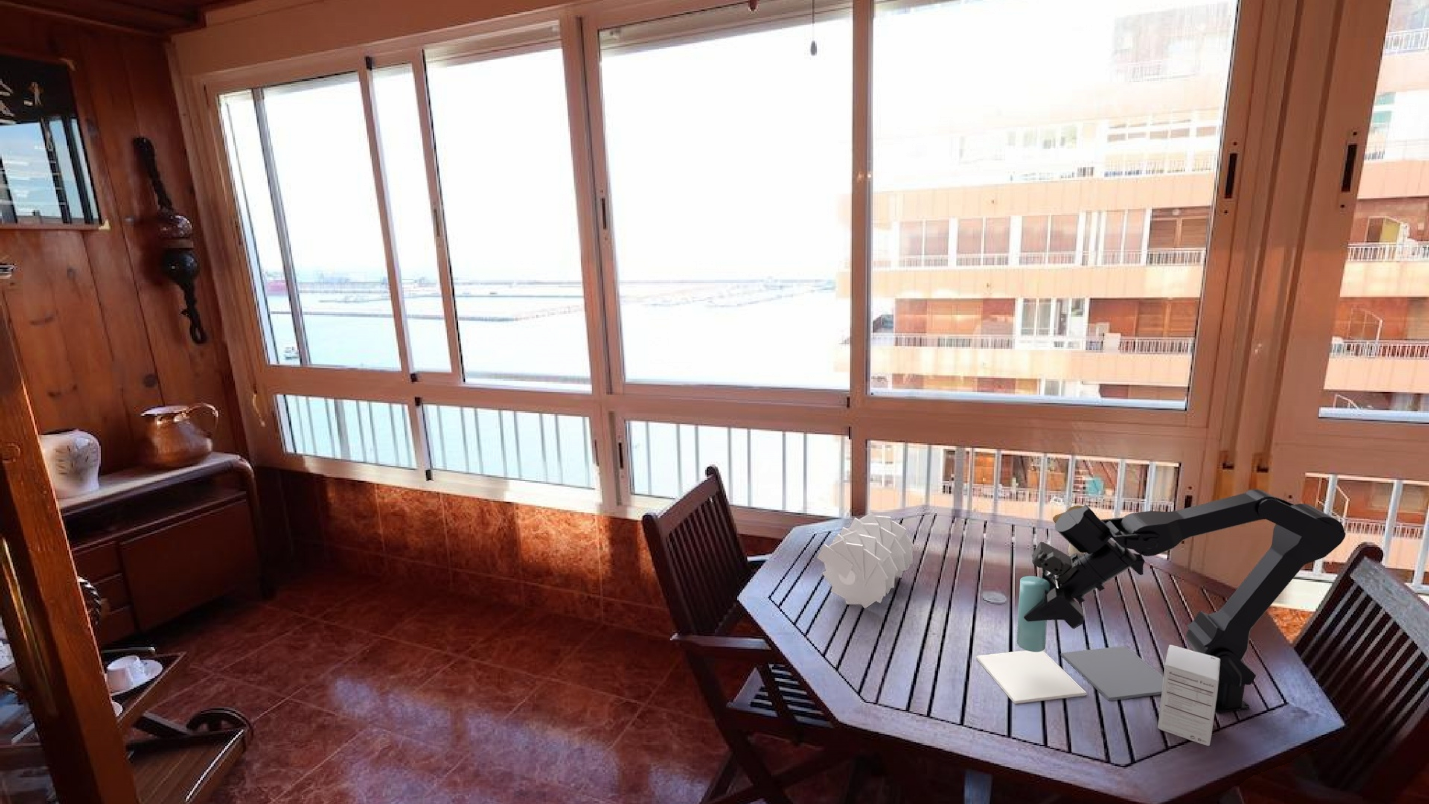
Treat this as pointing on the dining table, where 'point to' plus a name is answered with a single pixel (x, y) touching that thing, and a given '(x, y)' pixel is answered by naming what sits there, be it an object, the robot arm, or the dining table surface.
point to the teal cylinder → (1030, 595)
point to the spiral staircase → (867, 559)
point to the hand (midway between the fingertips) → (1025, 612)
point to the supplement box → (1189, 694)
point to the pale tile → (1029, 676)
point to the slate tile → (1116, 672)
